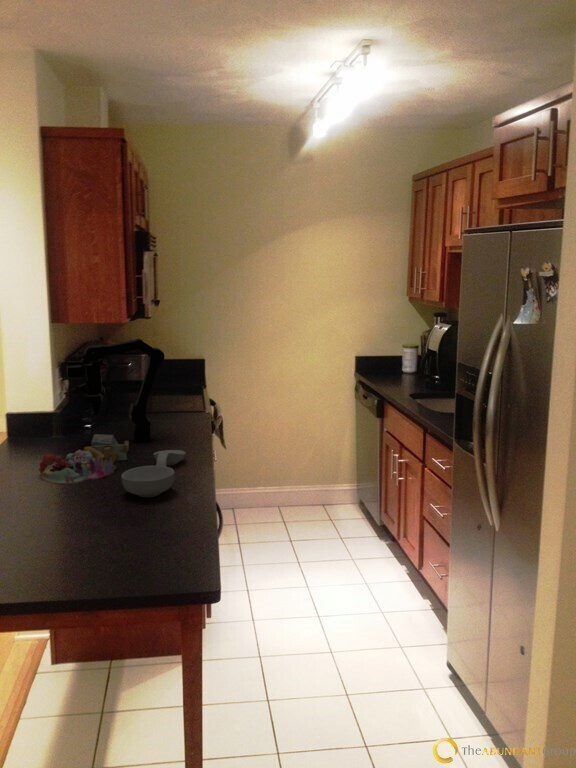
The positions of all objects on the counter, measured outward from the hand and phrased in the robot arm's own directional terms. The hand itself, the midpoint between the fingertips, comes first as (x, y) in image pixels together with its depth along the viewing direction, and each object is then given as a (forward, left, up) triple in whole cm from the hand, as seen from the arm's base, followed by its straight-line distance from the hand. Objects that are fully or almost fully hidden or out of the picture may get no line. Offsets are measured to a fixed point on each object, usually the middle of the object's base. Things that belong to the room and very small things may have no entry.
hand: (96, 414), depth 281 cm
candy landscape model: (+3, +36, -13) cm, 39 cm away
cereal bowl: (-21, +62, -13) cm, 67 cm away
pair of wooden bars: (-6, +15, -13) cm, 20 cm away
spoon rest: (-28, +36, -13) cm, 47 cm away
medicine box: (-6, +15, -11) cm, 20 cm away
